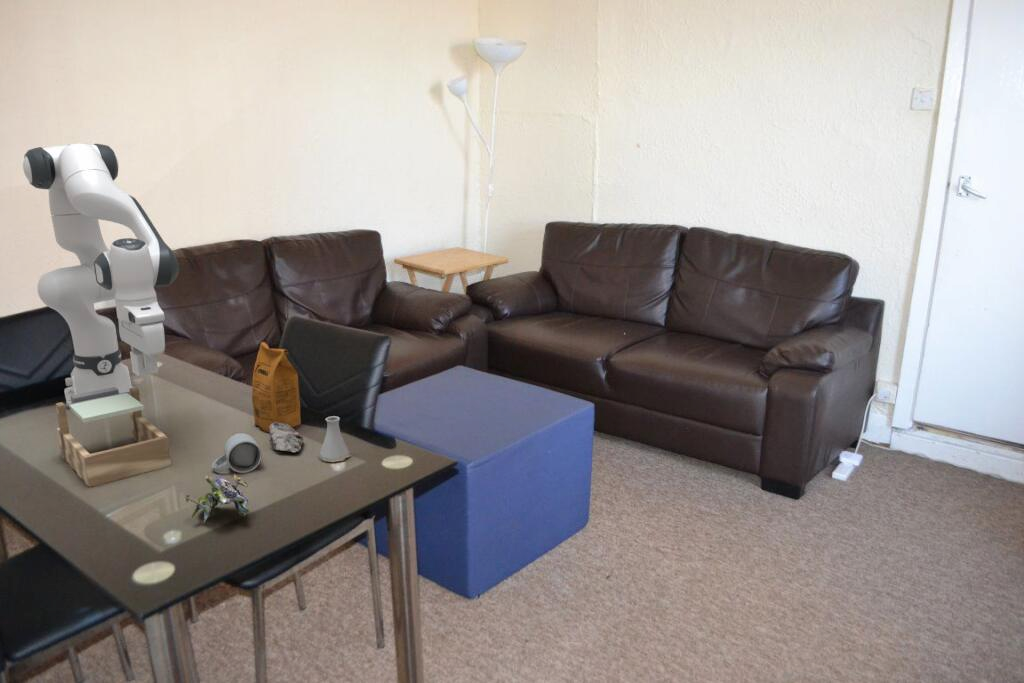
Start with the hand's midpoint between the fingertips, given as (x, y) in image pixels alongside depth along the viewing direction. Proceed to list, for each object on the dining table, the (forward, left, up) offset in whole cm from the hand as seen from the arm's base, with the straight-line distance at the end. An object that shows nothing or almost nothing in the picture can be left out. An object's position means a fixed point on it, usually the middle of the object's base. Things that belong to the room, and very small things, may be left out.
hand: (144, 365), depth 195 cm
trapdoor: (-3, -9, -10) cm, 14 cm away
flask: (+33, +31, -22) cm, 50 cm away
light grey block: (0, 0, -2) cm, 2 cm away
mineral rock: (+19, +25, -22) cm, 38 cm away
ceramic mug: (+24, +11, -22) cm, 34 cm away
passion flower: (+45, -2, -22) cm, 50 cm away
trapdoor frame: (+1, -9, -21) cm, 23 cm away
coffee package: (+5, +30, -22) cm, 37 cm away
